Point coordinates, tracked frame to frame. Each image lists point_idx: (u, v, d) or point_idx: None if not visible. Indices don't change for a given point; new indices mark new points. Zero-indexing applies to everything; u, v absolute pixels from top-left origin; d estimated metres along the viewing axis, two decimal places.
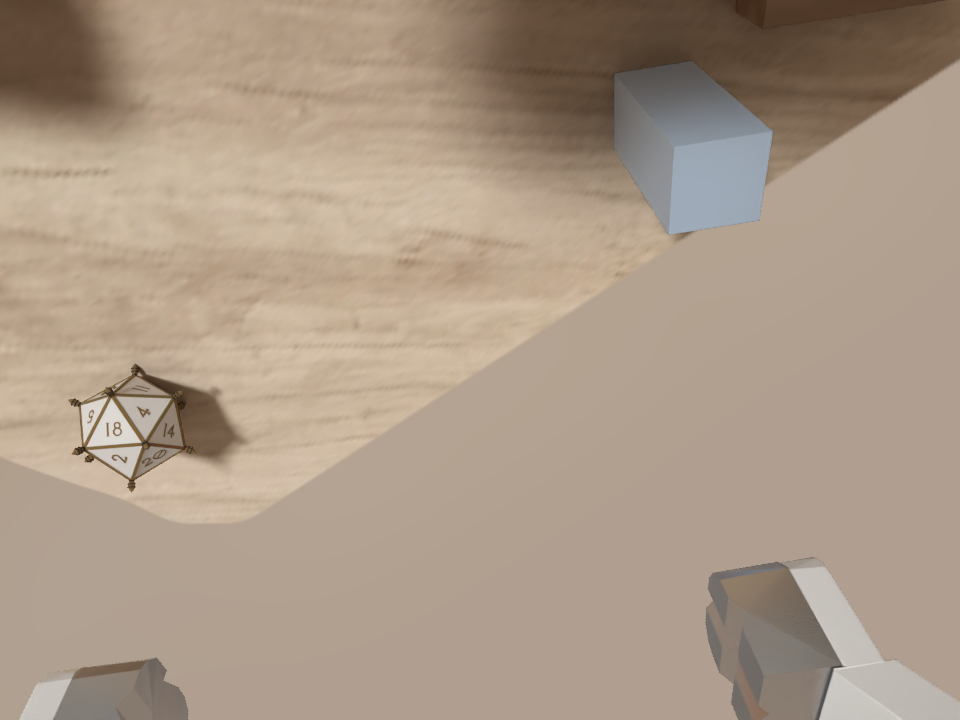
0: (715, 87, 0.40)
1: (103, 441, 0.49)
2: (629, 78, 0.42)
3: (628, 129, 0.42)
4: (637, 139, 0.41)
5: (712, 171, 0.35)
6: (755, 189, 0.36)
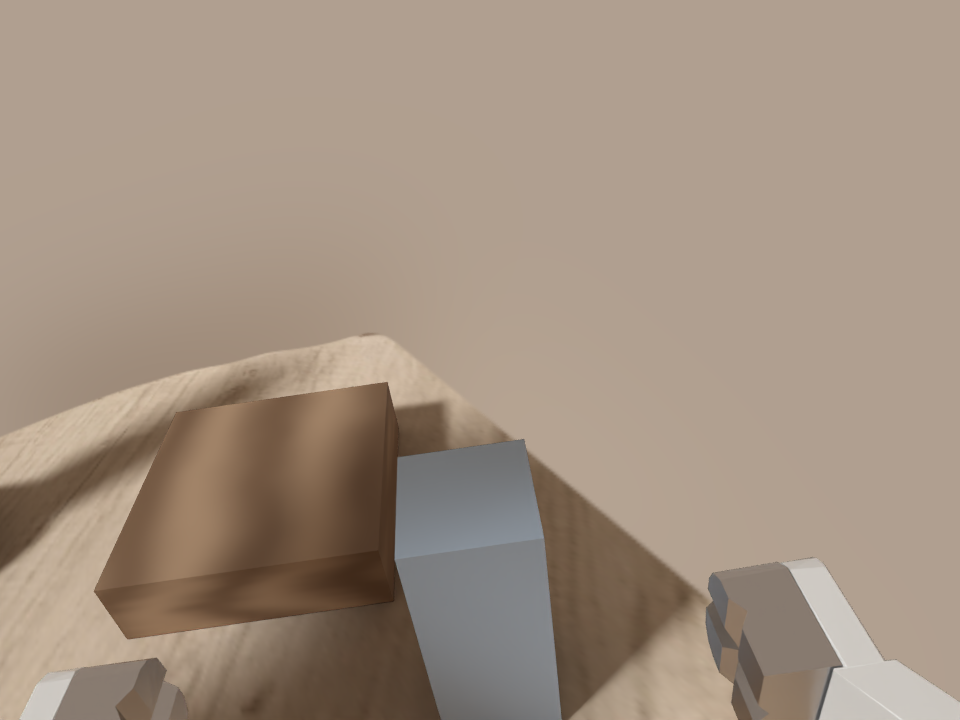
0: None
1: None
2: None
3: (491, 688, 0.27)
4: (481, 661, 0.26)
5: (441, 506, 0.24)
6: (476, 454, 0.26)
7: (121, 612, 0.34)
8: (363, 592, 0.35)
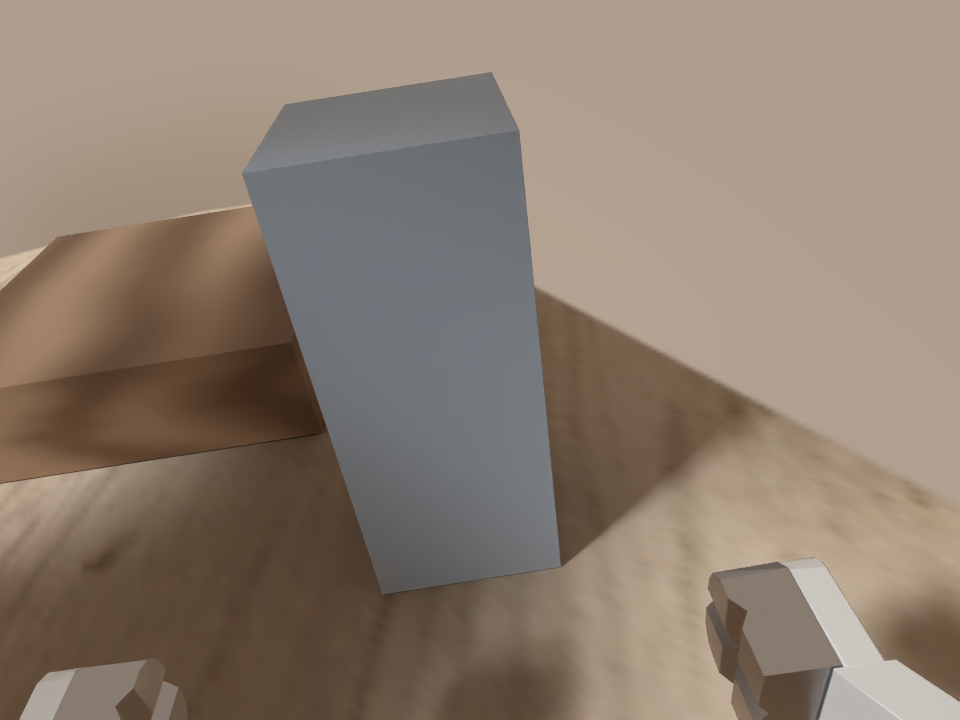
0: None
1: None
2: None
3: (444, 490, 0.17)
4: (424, 429, 0.16)
5: (341, 127, 0.14)
6: (412, 89, 0.16)
7: None
8: (277, 417, 0.25)
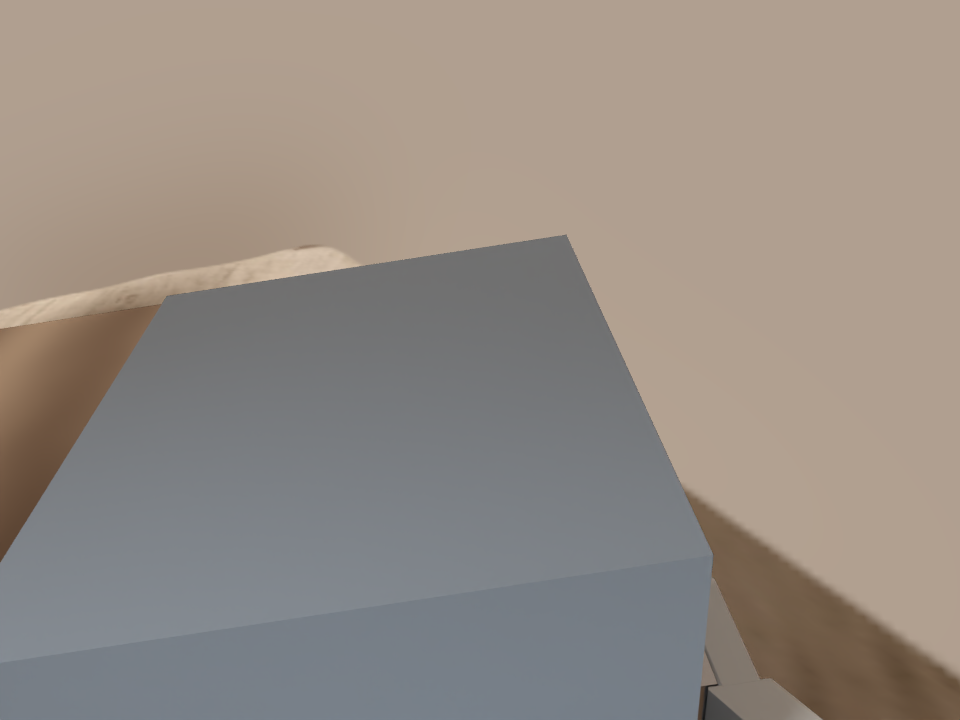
0: None
1: None
2: None
3: None
4: None
5: (250, 425, 0.06)
6: (412, 276, 0.08)
7: None
8: None
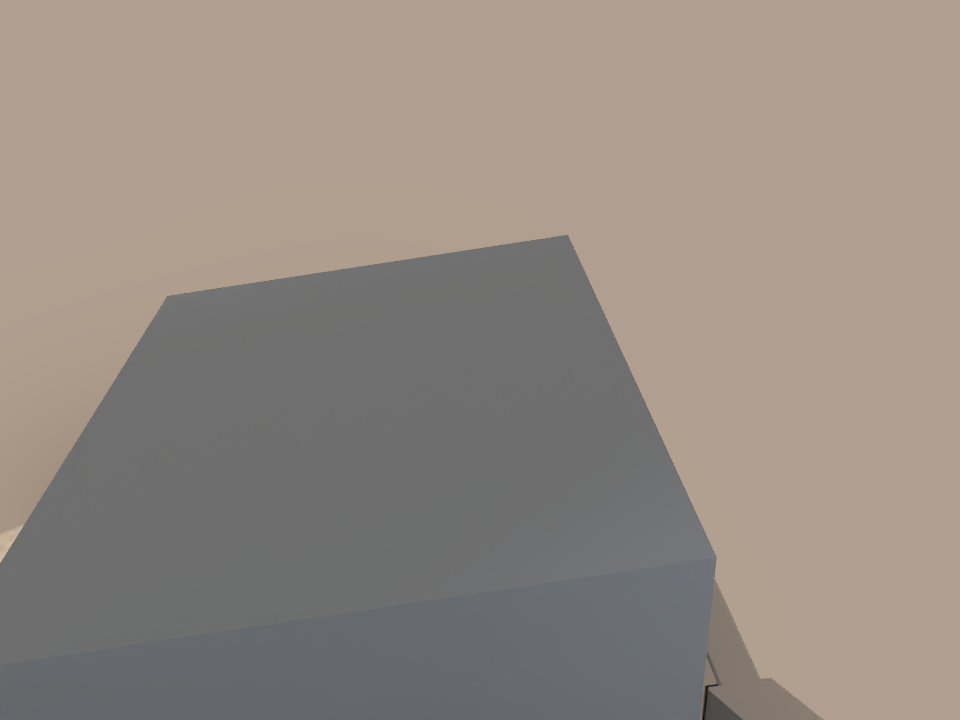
0: None
1: None
2: None
3: None
4: None
5: (250, 426, 0.06)
6: (413, 275, 0.08)
7: None
8: None
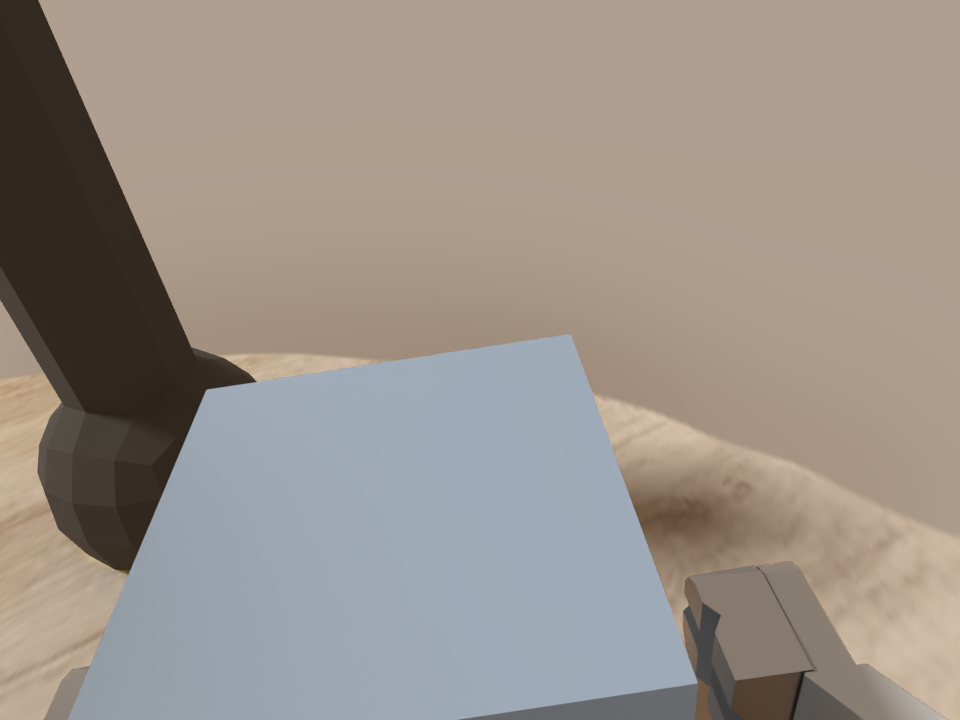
0: None
1: None
2: None
3: None
4: None
5: (294, 537, 0.07)
6: (430, 375, 0.09)
7: None
8: None
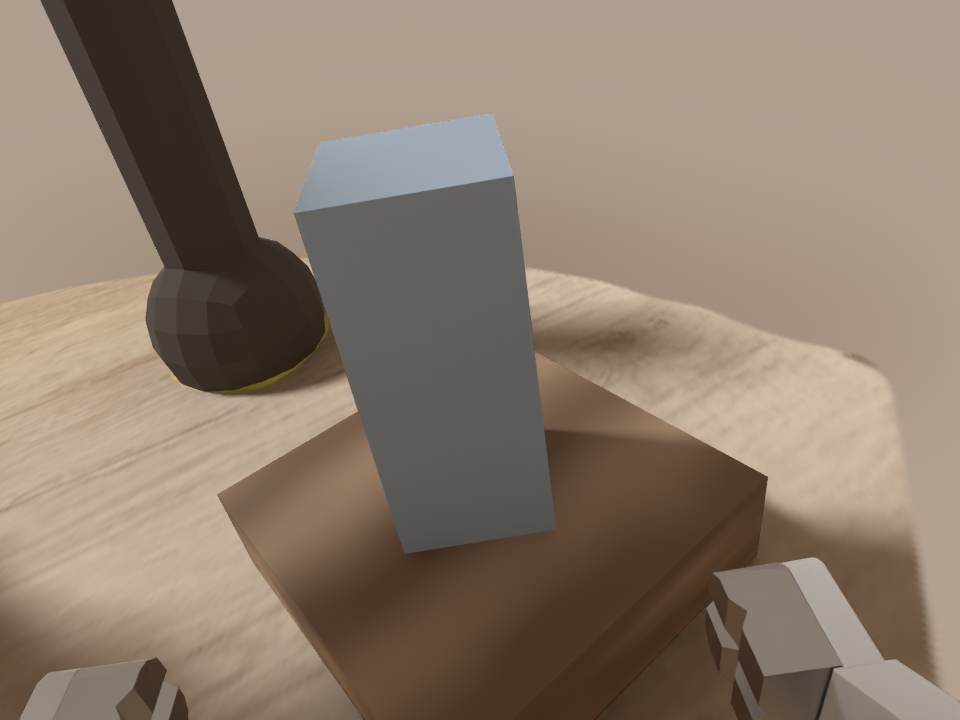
0: None
1: None
2: None
3: (456, 464, 0.20)
4: (439, 414, 0.19)
5: (370, 168, 0.17)
6: (425, 129, 0.19)
7: (240, 535, 0.27)
8: None
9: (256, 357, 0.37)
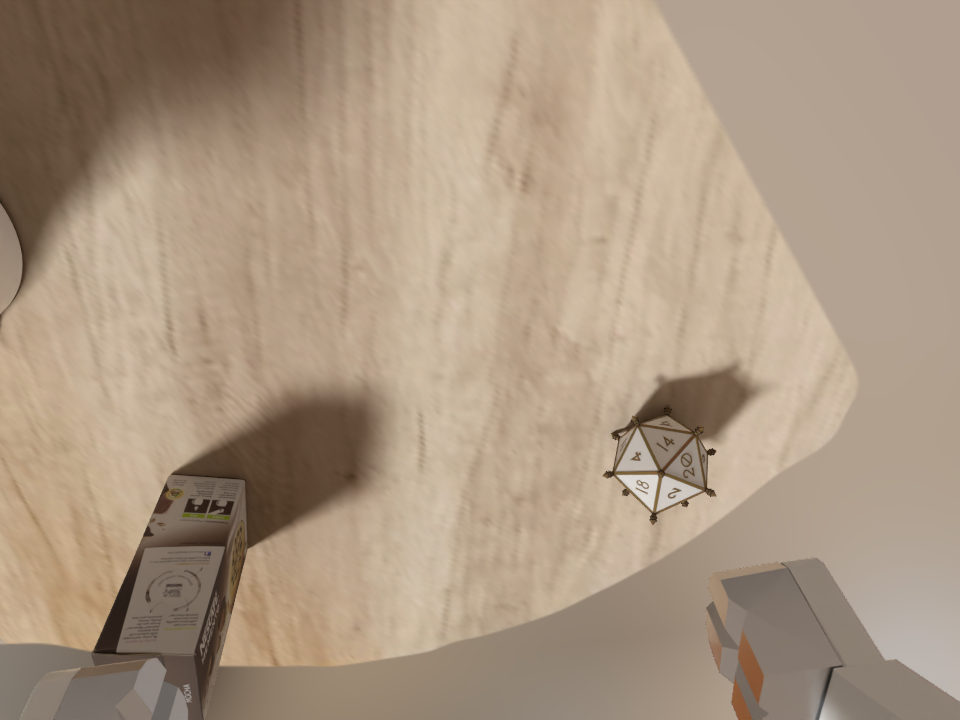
0: None
1: (651, 498, 0.52)
2: None
3: None
4: None
5: None
6: None
7: None
8: None
9: None
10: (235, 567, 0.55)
